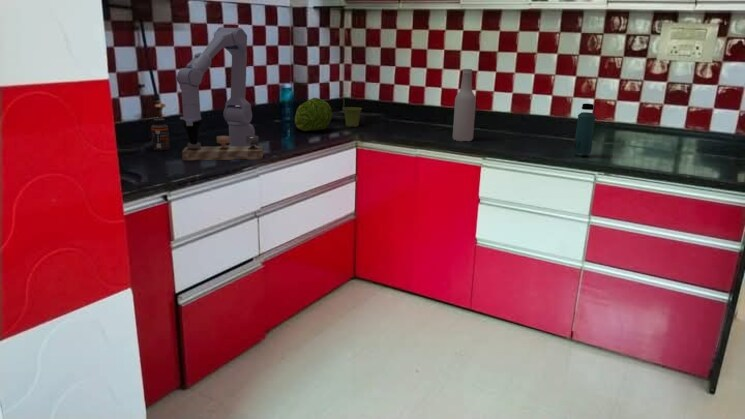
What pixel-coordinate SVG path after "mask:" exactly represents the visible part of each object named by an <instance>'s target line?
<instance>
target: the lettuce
mask: <svg viewBox="0 0 745 419" xmlns="http://www.w3.org/2000/svg"><path fill="white" fill-rule="evenodd" d="M332 118H333V112H332V107H331V105H330V104H329V103H328V102H327V101H326V100H323V99H321V98H319V97H313V98H312V97H311V98H310V99H308V100H307V101H305V102H303V103H300V105H299V106H298V108H296V112H295V116H294V124H295V126H296V128H297V129H299V130H301V131H302V132H310V131H311V132H318V131H321V130H325V129H327V127H329V124H330V123H331V120H332Z"/></svg>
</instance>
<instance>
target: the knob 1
mask: <svg viewBox="0 0 745 419" xmlns="http://www.w3.org/2000/svg"><path fill="white" fill-rule="evenodd" d="M187 147H188V150H200V149H201V147H202V144H201V142H199V141H198V142H197V144H191V143H190V142H188V143H187Z"/></svg>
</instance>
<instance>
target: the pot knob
mask: <svg viewBox="0 0 745 419" xmlns="http://www.w3.org/2000/svg"><path fill="white" fill-rule="evenodd" d="M216 143H217V144H220V146H221V148H226V146H227V144H230V137H229V135H217V136H216Z"/></svg>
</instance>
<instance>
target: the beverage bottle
mask: <svg viewBox="0 0 745 419" xmlns="http://www.w3.org/2000/svg"><path fill="white" fill-rule="evenodd" d="M594 108H595V106H594V104H593V103H587V102H586V103H582V106H581V110H584V111H585V110H586V111H585V112H584V111H582V112H580V113H579V114H577V123H576V127H575V128H576V129H575V137H574V138H575V139H574V143H573V150H572V151H573V152H574V153H575V154H582V155H589V154H591V153H592V148H593V147H592V146H593V138H594V128H595V122H596V114H594V113H593V112H588V111H593V110H594Z"/></svg>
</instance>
